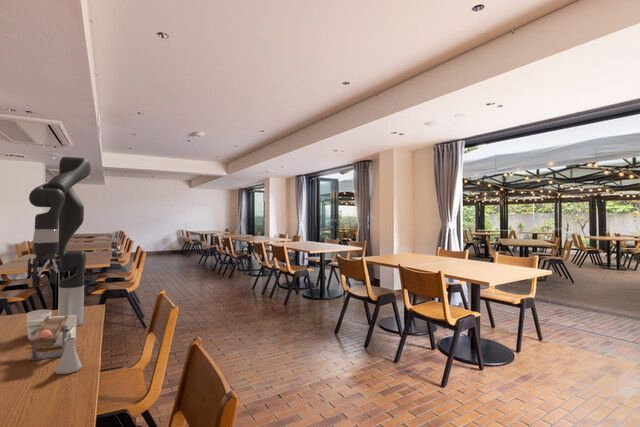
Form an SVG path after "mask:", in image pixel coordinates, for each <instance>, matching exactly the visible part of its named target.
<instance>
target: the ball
mask: <svg viewBox="0 0 640 427" xmlns="http://www.w3.org/2000/svg"><path fill="white" fill-rule="evenodd" d="M51 336H52V332H51V331H49V330H44V331H42V332H40V334H39V338H50V337H51Z"/></svg>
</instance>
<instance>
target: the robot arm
mask: <svg viewBox="0 0 640 427" xmlns="http://www.w3.org/2000/svg"><path fill="white" fill-rule="evenodd" d="M91 169H92V167H91V163H90V160H88V158H85V157H77V156H73V157H72V156H71V157H70V156H62V157H61V159H60V160H59V166H58V173H59V174H58V175H55V176H53V177H52V178H51V179H50V180H49V181H48V182H46V183H43V184H40V185H39V186H37V187H35V188H33V189H32V190H31V191H30V193H29V196H28V201H29V203H30V204H31V205H32V206H34V207H35V208H49V210H48V211H47V212H42V213H37V214H36V215H35V216H34V232H33V239H32V240H33V241H32V254H33V255H35V257H31V258H28V260H27V272H26V275H27V276H31V277H32V280H31V281H32V285H31V286H32V287H33V288H37V287H40V286H41V275H42V273H43V272H44V271H45V270H48V272H49V277H48V278H49V284H55V283H57V280H58V273H59V272H75V273H74V274H73V275H71V276H69V277H66V278H63V279H61V280H59V283H58V307H57V309H58V310H57V316H65V315H66V314H68V315H77V318H76V327H78V326H80V325H82V324H83V323H84V305H85V304H84V302H85V299H84V298H85V272H86V260H87V255H86V251H85V250H80V249H71V250H66V248H67V247H68V244H69V242H70V241H71V238H72V237H73V236H74V234H75V233H76V232H77V231H78V230H79V229H80V227H81V226H82V224H83V222H84V218H85V217H84V214H85V207H84V204H83V202H82V201H81V199H80V198H79V197H78V195H77V194H76V192H75V191H74V188H73V186H74V185H76V184H78V183H80V182H81V181H83V180H85V179H86V178H88V176H90V174H91Z"/></svg>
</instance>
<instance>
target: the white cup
mask: <svg viewBox="0 0 640 427" xmlns="http://www.w3.org/2000/svg"><path fill="white" fill-rule="evenodd" d="M52 313H53V310H52V309H37V310H32V311H29V312H27V313H26V324H27V323H28V322H29V320H40V319H45V317H46V316H49V319H50V317H53V314H52ZM37 328H39V327H37ZM26 329H27V331H26V332H27V340H31V339H33V335H31V333H32V332H33V330H34V329H36V328H26Z"/></svg>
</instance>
